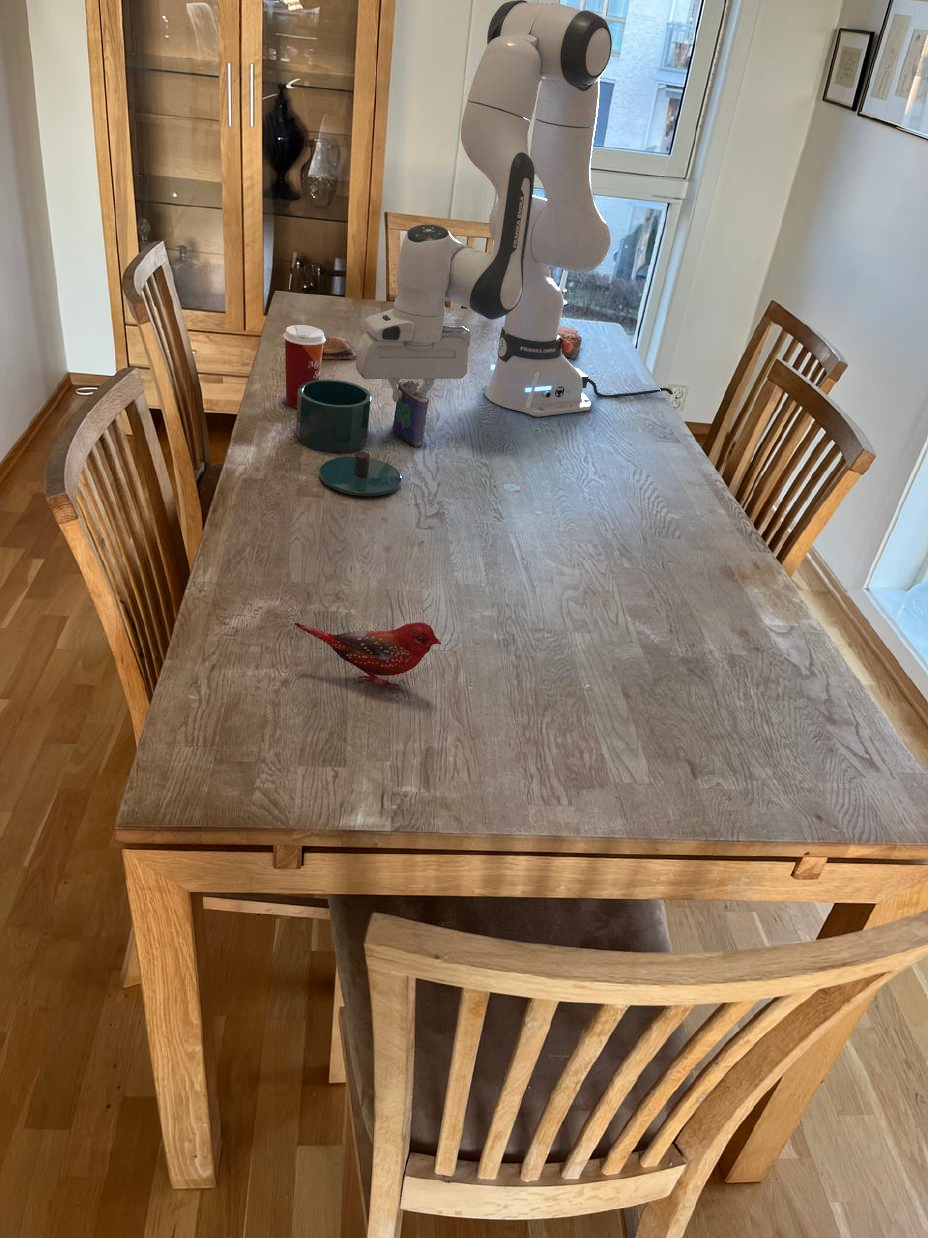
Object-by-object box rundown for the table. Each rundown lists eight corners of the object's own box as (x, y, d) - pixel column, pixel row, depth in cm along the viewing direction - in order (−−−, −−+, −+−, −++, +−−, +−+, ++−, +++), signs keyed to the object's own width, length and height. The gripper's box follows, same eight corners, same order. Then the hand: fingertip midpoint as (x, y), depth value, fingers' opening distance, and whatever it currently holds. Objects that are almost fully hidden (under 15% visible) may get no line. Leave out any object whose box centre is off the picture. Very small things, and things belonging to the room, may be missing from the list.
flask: (425, 446, 178) (432, 391, 172) (411, 448, 177) (418, 392, 171) (401, 425, 184) (408, 370, 178) (388, 426, 183) (393, 372, 177)
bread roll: (348, 347, 217) (350, 330, 215) (358, 360, 211) (360, 343, 209) (301, 345, 214) (302, 329, 212) (310, 359, 207) (311, 342, 205)
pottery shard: (582, 362, 232) (586, 346, 230) (518, 352, 231) (521, 336, 228) (576, 340, 246) (579, 325, 243) (515, 331, 244) (518, 315, 242)
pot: (355, 422, 183) (358, 378, 178) (376, 451, 174) (380, 406, 169) (288, 424, 178) (290, 379, 173) (306, 454, 169) (309, 407, 164)
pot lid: (385, 460, 171) (388, 436, 168) (412, 497, 161) (415, 471, 158) (309, 464, 166) (311, 438, 163) (332, 501, 156) (334, 474, 153)
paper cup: (318, 413, 184) (322, 340, 176) (277, 407, 184) (280, 333, 176) (324, 398, 191) (328, 327, 183) (284, 392, 190) (287, 321, 182)
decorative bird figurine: (431, 703, 117) (441, 634, 111) (287, 671, 118) (291, 602, 112) (435, 689, 119) (446, 621, 114) (295, 658, 120) (299, 589, 115)
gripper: (465, 320, 176) (454, 393, 184) (356, 317, 168) (350, 394, 176) (478, 331, 172) (467, 406, 179) (367, 330, 164) (360, 408, 171)
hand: (408, 400), depth 178 cm, fingers closed on flask, 3 cm apart
